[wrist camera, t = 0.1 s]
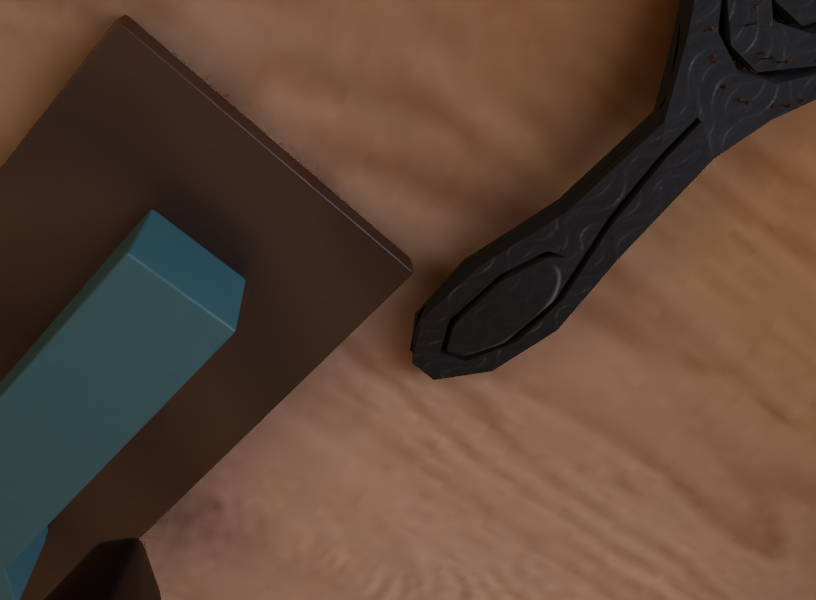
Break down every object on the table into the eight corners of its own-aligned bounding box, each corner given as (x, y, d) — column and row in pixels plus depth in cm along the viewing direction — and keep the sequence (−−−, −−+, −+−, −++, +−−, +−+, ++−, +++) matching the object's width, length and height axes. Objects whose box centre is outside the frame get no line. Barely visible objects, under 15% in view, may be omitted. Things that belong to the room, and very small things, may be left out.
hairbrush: (315, 336, 21) (1277, -695, 12) (319, 272, 24) (1085, -580, 16) (528, 479, 24) (1415, -270, 15) (507, 405, 27) (1231, -247, 19)
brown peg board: (47, 613, 28) (-24, 796, 22) (-236, 475, 24) (-409, 654, 18) (411, 258, 23) (440, 376, 17) (125, 13, 19) (42, 60, 13)
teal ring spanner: (-14, 600, 26) (-52, 679, 23) (-173, 524, 24) (-234, 600, 21) (277, 302, 22) (271, 356, 19) (116, 179, 20) (85, 222, 17)
